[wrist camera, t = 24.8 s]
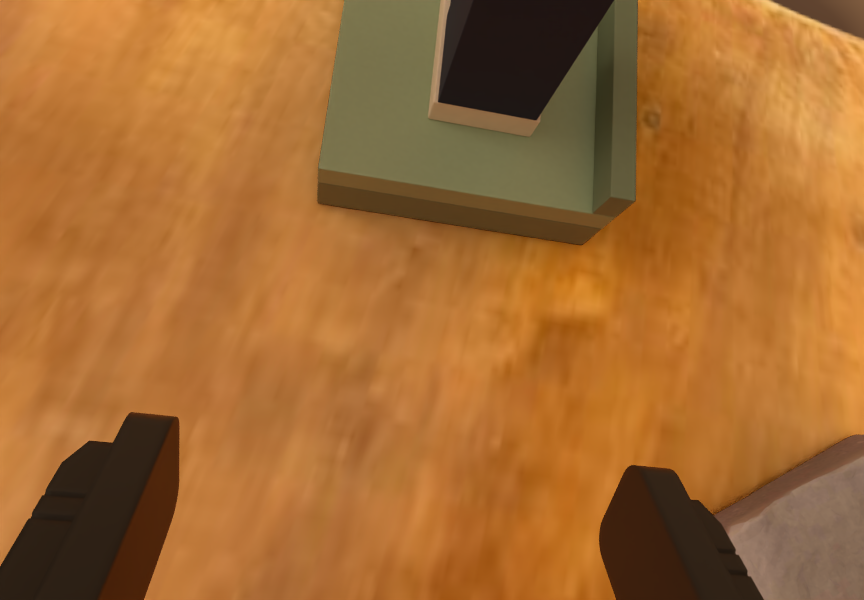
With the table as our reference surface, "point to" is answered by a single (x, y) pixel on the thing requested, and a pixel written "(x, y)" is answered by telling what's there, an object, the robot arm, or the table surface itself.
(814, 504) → the stone block
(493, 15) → the high-top shoe
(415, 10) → the green flanged plate
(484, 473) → the table surface
